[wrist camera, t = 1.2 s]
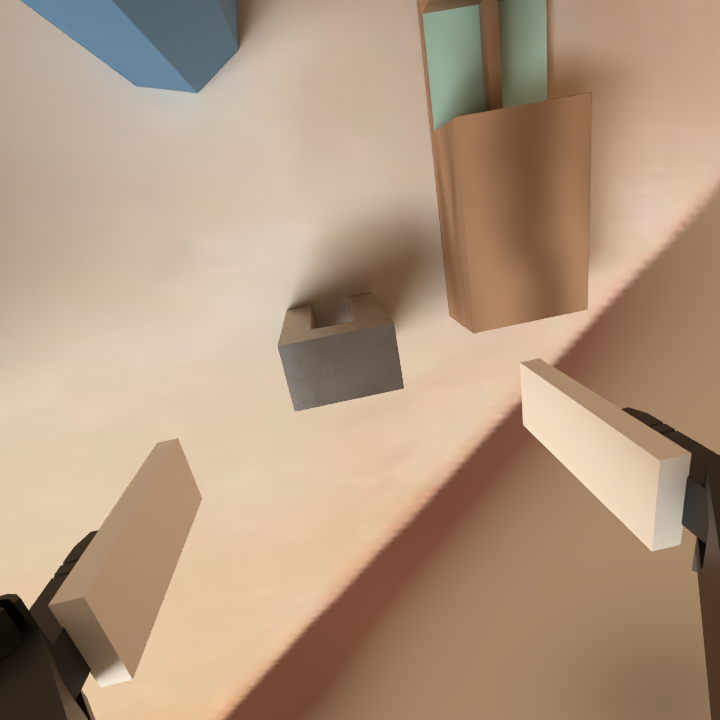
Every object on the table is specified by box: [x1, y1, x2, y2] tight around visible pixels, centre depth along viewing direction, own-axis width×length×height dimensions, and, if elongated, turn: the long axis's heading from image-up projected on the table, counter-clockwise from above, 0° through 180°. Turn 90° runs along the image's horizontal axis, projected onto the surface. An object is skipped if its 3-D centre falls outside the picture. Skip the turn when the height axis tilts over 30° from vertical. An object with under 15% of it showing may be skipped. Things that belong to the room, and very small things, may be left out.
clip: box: [278, 293, 404, 411], centre depth 27 cm, size 6×4×9 cm, turn 100°
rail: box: [417, 0, 592, 333], centre depth 25 cm, size 8×28×5 cm, turn 10°
